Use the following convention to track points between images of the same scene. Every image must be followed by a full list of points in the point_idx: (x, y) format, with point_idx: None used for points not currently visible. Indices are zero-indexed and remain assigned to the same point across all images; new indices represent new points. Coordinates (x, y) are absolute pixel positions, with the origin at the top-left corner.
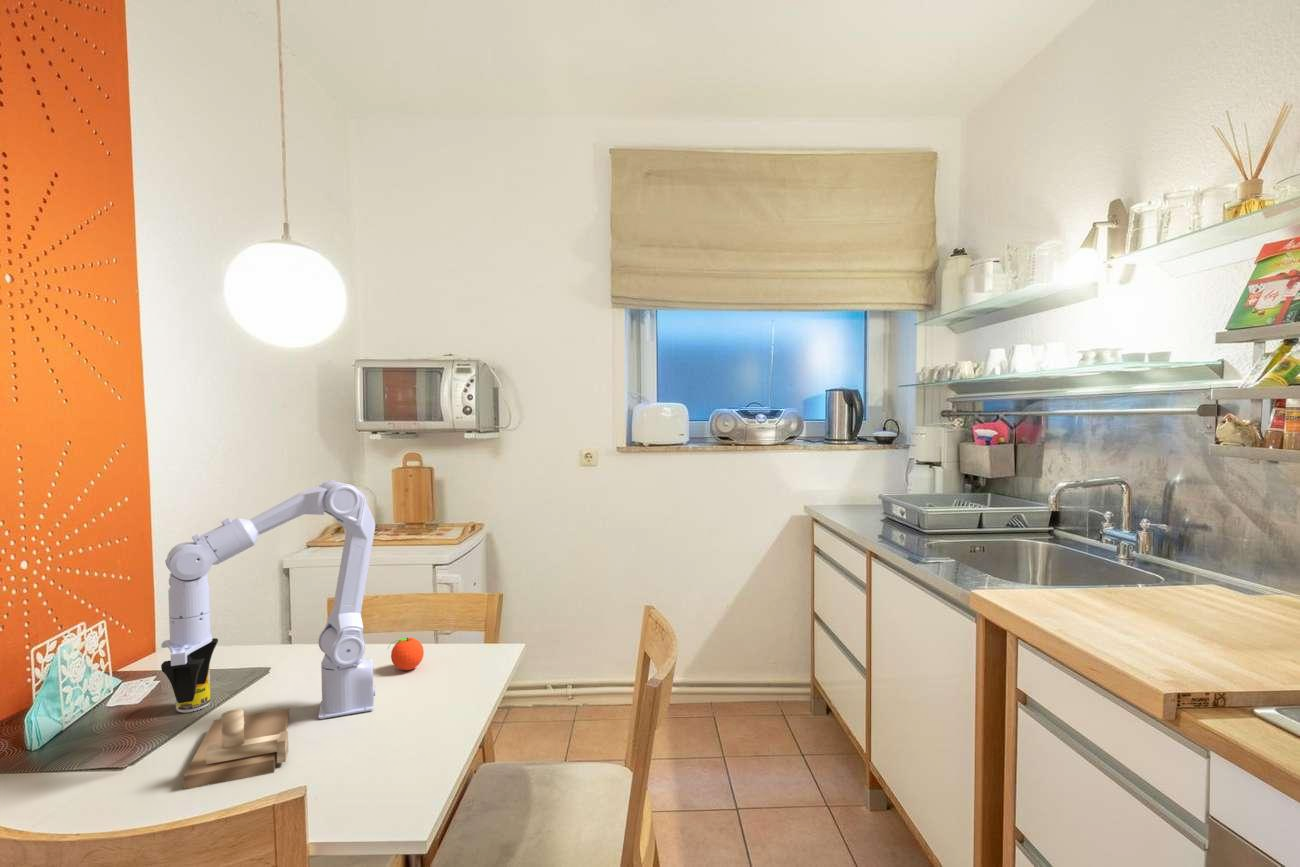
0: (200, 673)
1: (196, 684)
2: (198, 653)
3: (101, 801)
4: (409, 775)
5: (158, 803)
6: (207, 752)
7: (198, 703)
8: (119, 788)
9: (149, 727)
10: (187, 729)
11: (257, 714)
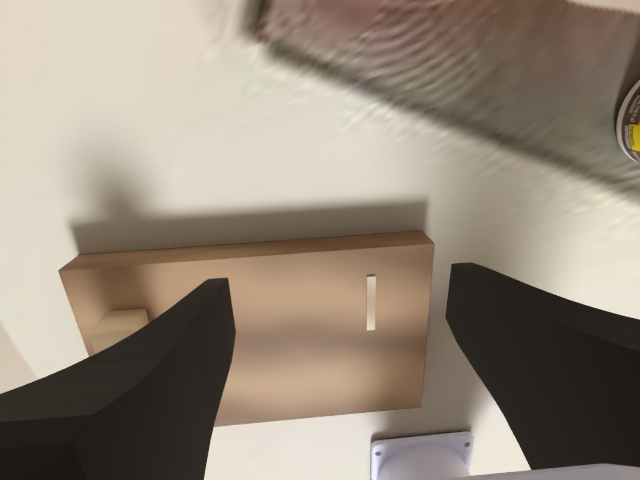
0: (477, 336)
1: (449, 286)
2: (573, 443)
3: (38, 49)
4: None
5: (12, 217)
6: (90, 336)
7: (634, 144)
8: (113, 74)
9: (565, 5)
10: (475, 148)
11: (415, 346)
